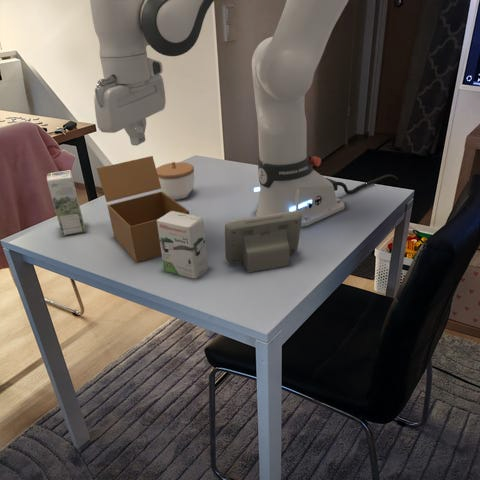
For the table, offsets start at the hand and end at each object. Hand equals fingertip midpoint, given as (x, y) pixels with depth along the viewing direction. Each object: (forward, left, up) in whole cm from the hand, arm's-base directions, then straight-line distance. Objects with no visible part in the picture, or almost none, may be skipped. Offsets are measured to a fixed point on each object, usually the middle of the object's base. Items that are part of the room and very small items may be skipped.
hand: (138, 143), depth 109 cm
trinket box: (-17, -26, -24) cm, 39 cm away
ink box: (-1, +16, -24) cm, 28 cm away
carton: (0, -2, -23) cm, 23 cm away
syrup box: (+14, -21, -24) cm, 35 cm away
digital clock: (-16, +22, -24) cm, 36 cm away
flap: (0, -11, -11) cm, 15 cm away
